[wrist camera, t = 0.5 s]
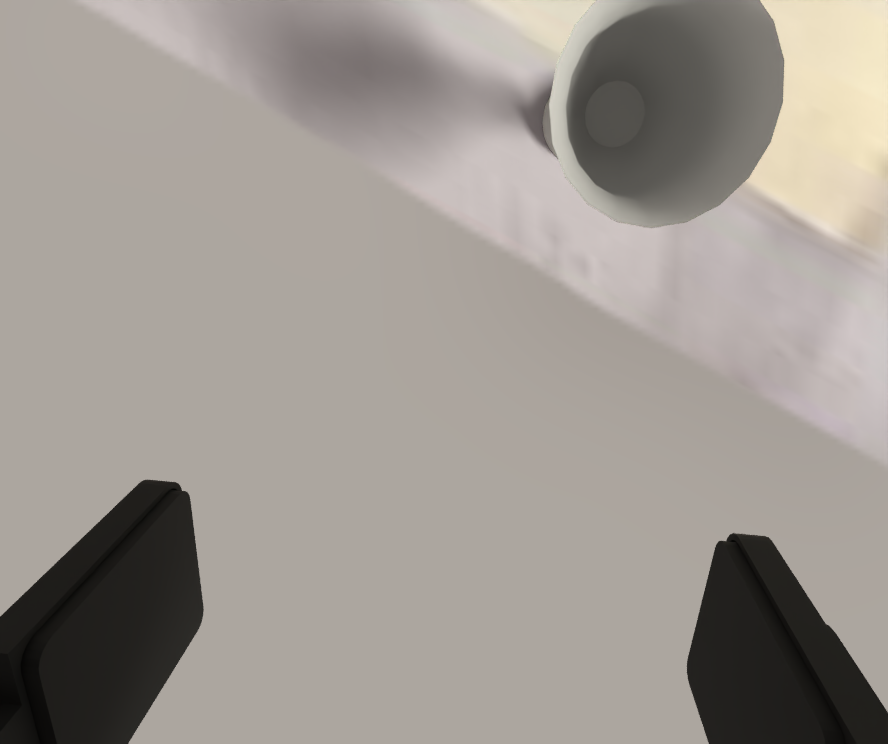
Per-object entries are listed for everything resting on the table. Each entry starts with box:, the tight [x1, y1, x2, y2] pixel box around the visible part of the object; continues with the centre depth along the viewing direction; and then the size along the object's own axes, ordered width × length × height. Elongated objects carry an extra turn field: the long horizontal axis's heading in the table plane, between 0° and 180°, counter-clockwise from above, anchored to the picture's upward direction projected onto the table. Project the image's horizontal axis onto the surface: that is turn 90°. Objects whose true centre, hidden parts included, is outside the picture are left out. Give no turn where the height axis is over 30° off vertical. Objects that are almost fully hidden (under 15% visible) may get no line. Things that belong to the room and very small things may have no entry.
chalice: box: [542, 0, 784, 228], centre depth 27 cm, size 7×7×18 cm
